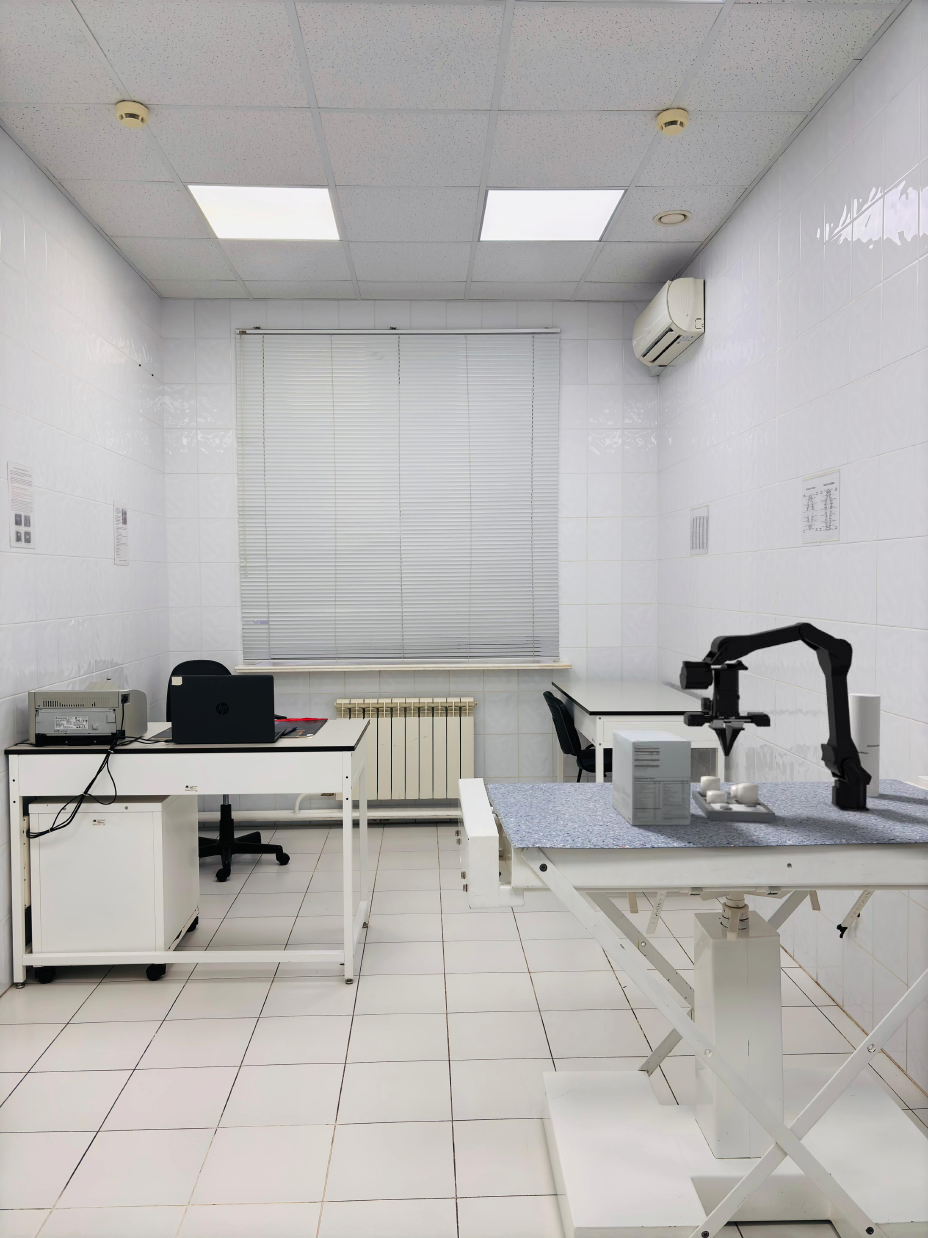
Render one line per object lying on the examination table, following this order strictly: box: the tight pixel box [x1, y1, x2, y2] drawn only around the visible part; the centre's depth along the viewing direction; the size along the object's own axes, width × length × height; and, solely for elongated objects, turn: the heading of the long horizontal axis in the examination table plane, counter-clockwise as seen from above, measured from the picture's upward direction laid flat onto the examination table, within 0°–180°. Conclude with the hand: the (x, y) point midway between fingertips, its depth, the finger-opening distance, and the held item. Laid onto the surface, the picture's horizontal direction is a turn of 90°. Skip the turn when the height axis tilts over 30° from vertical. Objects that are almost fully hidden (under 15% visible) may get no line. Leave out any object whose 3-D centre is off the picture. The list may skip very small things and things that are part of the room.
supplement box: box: [611, 729, 692, 826], centre depth 180 cm, size 17×13×18 cm
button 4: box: [737, 782, 759, 805], centre depth 185 cm, size 4×4×4 cm
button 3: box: [730, 784, 738, 798], centre depth 192 cm, size 4×4×4 cm
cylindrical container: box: [848, 692, 881, 798], centre depth 204 cm, size 7×7×25 cm
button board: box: [691, 790, 776, 823], centre depth 186 cm, size 14×20×2 cm
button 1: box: [700, 775, 721, 796], centre depth 192 cm, size 4×4×4 cm
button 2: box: [707, 790, 727, 804], centre depth 185 cm, size 4×4×4 cm
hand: (726, 756), depth 189 cm, fingers closed
